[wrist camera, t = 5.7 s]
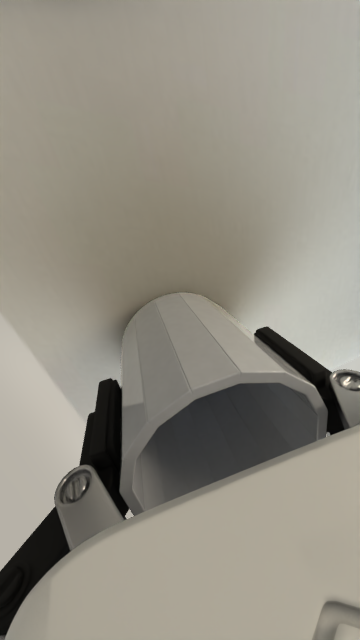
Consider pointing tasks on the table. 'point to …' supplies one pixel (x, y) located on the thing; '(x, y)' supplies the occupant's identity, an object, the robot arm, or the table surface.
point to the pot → (203, 401)
